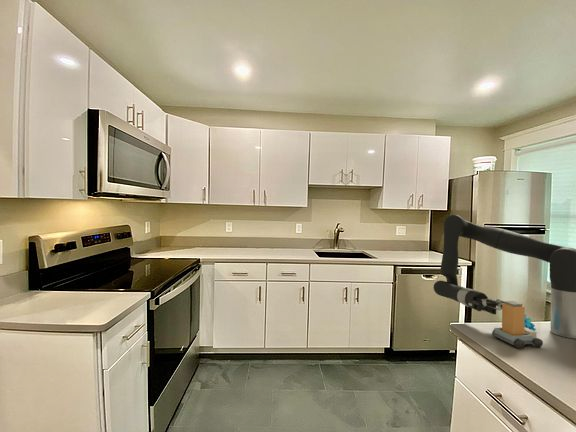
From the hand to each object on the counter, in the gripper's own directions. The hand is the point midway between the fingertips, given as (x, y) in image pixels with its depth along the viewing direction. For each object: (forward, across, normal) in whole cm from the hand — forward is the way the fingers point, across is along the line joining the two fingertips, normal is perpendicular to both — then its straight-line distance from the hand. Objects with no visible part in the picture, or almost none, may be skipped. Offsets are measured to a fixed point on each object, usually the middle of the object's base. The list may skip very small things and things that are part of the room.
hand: (505, 311), depth 108 cm
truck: (+3, +2, +10) cm, 11 cm away
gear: (-7, +15, +10) cm, 20 cm away
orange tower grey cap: (+3, 0, +8) cm, 9 cm away
